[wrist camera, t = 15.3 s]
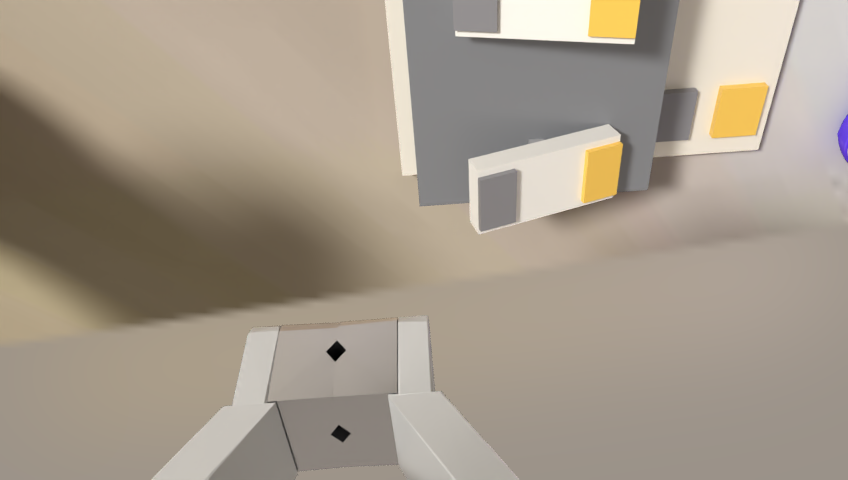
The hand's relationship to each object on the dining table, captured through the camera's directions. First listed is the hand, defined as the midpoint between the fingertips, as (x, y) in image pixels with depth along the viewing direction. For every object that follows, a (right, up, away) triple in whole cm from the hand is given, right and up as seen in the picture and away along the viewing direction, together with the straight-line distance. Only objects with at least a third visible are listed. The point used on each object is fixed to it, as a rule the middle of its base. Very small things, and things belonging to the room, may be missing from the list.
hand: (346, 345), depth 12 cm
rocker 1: (+7, +13, +19) cm, 24 cm away
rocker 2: (+7, +5, +26) cm, 27 cm away
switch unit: (+10, +13, +27) cm, 32 cm away
